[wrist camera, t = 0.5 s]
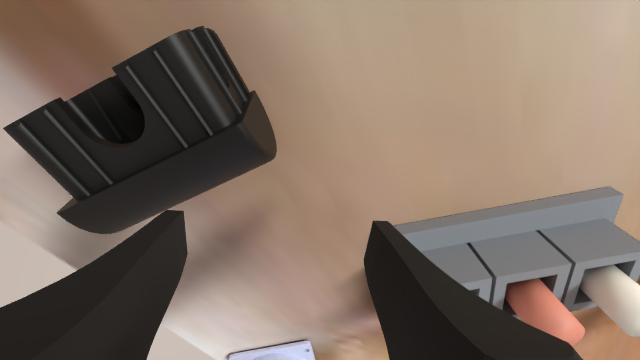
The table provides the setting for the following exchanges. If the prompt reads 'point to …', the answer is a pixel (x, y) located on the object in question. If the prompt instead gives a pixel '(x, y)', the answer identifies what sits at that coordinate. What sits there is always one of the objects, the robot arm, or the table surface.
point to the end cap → (150, 133)
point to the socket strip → (530, 245)
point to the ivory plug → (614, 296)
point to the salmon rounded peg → (543, 310)
